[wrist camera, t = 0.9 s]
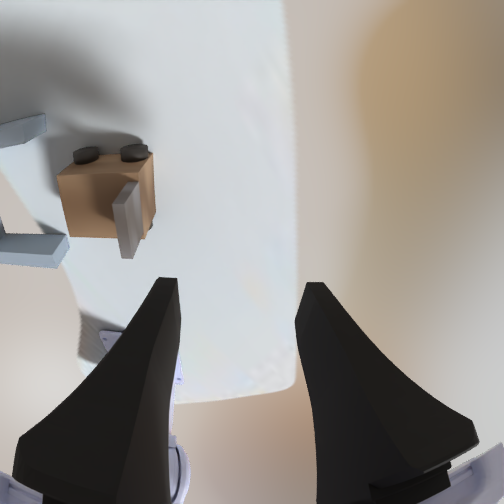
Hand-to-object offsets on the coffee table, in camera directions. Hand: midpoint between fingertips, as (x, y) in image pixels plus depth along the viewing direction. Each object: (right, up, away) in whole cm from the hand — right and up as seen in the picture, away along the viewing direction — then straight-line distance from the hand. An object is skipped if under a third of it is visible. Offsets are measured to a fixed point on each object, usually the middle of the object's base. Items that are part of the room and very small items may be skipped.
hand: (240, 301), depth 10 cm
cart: (-8, +6, +7) cm, 12 cm away
